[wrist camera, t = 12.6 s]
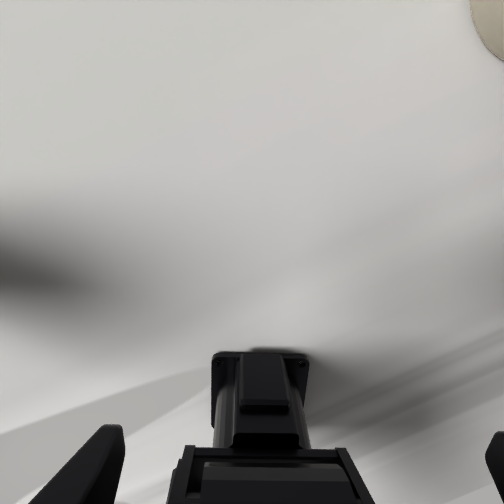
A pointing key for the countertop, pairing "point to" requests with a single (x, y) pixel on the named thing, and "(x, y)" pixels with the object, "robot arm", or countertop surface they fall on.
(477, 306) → the countertop surface
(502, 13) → the travel mug
